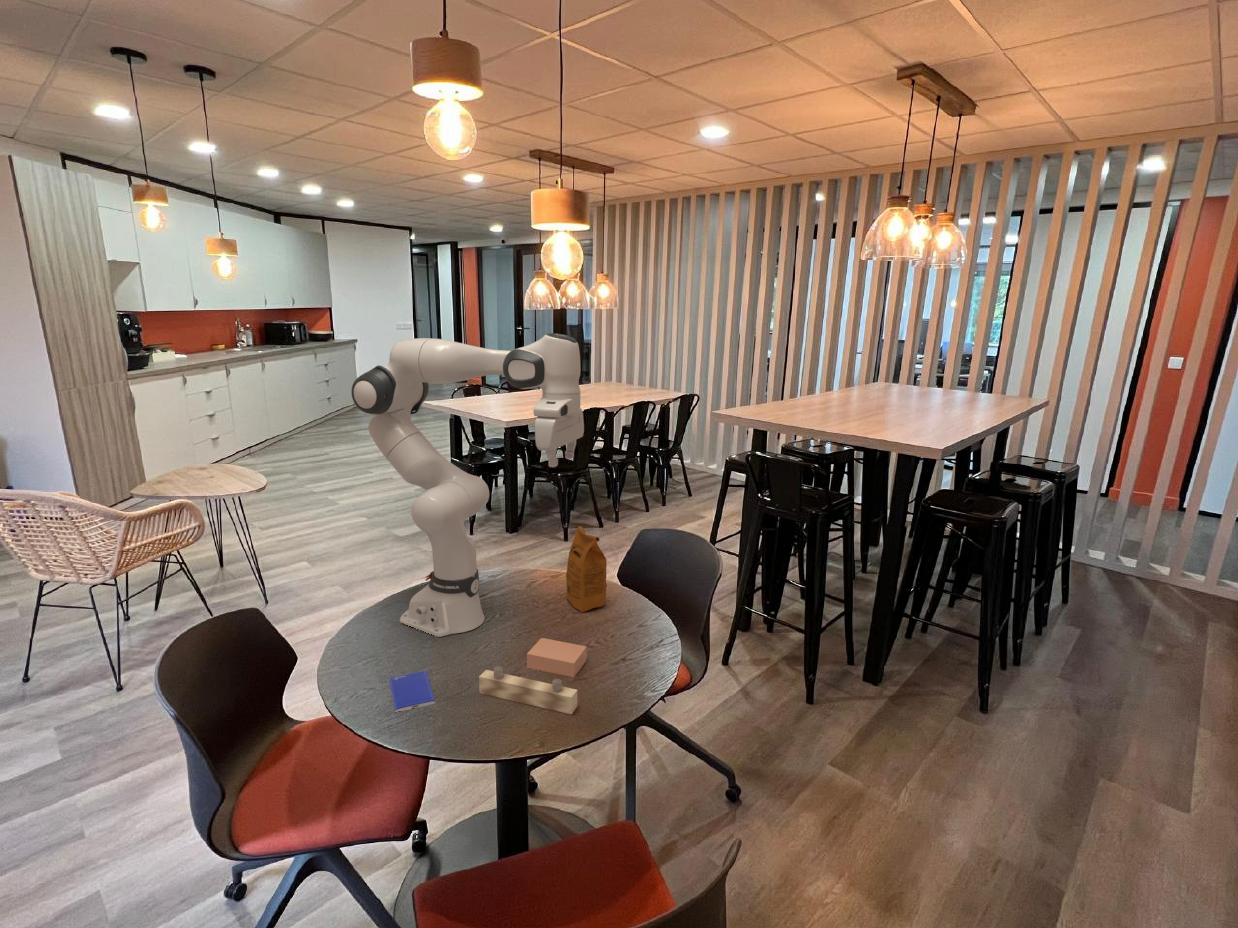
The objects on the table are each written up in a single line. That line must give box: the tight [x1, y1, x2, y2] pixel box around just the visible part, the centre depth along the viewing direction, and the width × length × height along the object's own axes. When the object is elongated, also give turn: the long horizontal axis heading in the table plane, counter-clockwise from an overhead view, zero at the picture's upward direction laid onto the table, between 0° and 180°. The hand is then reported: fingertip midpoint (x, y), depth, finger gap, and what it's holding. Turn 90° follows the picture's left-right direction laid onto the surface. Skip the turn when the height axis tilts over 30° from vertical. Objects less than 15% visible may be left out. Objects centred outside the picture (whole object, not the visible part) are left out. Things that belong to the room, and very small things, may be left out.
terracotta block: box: [526, 637, 588, 678], centre depth 151 cm, size 12×8×4 cm, turn 71°
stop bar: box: [478, 665, 578, 715], centre depth 136 cm, size 22×3×6 cm, turn 71°
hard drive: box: [388, 670, 436, 713], centre depth 139 cm, size 2×8×12 cm
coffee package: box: [565, 526, 608, 613], centre depth 181 cm, size 10×12×22 cm
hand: (561, 462), depth 151 cm, fingers open, 8 cm apart
